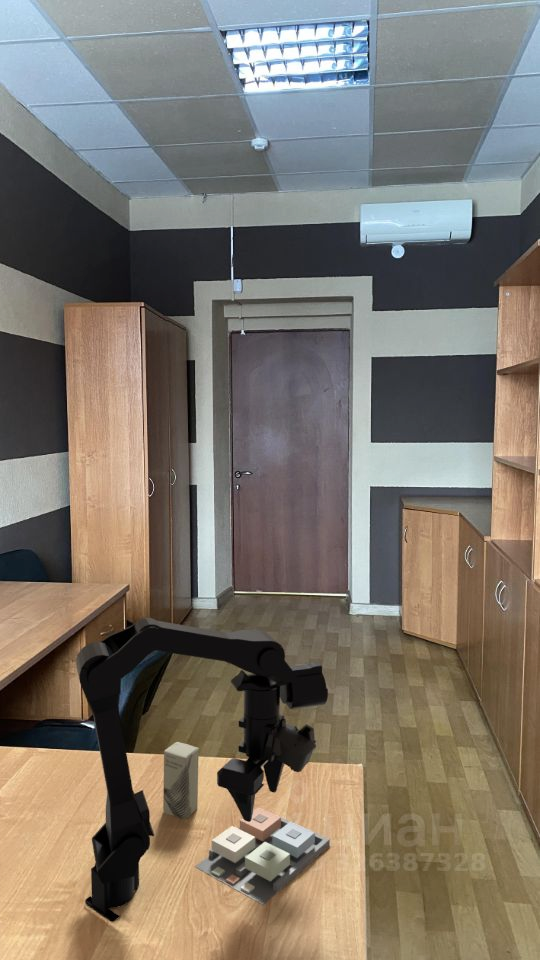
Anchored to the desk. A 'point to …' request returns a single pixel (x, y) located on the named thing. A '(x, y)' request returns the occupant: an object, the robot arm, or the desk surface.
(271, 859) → the key sage
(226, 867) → the grey compartment tray
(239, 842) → the key ivory
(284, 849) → the key slate
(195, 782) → the box
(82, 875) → the desk surface
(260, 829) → the key terracotta
